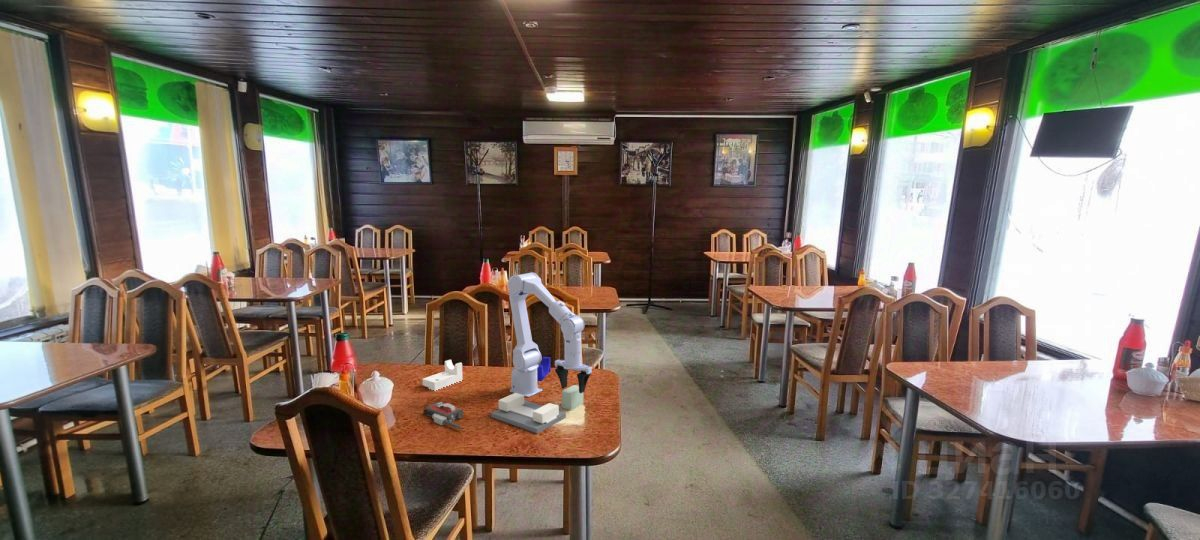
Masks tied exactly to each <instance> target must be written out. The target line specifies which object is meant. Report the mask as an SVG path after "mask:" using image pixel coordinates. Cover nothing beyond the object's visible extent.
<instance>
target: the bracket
mask: <svg viewBox="0 0 1200 540" xmlns="http://www.w3.org/2000/svg"><path fill="white" fill-rule="evenodd" d="M462 380H463V363H462V362H457V363H455V364H453V362H452V359H447V360H445V361H444V371H441V372H439V373H436V374H432V375H429V376H427V377H424V378H422V386H424V387H427V388H428V389H429V390H430V389H431V390H430V391H433V390H434V391H433V392H437V391H439V390H438V389H440V390H442V389H444V388H443V387H445V388H447V387H446V386H448V387H450V386H452V385H451V384H453V385H455V384H454V383H456V382H458V383H460V382H459V381H461V382H463V381H462ZM456 384H457V383H456ZM449 385H450V386H449ZM441 388H442V389H441ZM436 390H437V391H436Z"/></svg>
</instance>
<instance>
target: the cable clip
mask: <svg viewBox="0 0 1200 540" xmlns="http://www.w3.org/2000/svg"><path fill="white" fill-rule="evenodd" d="M550 372H551V357H549V356H543V357H542V359H541V363H539V364H538V367H537V382H538V381H539V382H543V380H544V379H545V378H546V377H547V376H548V375H549V373H550ZM546 375H547V376H546ZM545 376H546V377H545Z"/></svg>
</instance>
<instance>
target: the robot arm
mask: <svg viewBox="0 0 1200 540" xmlns="http://www.w3.org/2000/svg"><path fill="white" fill-rule="evenodd" d="M507 285H508V290H509V291H508V292H509V303H510V308H511V309H510V310H511V314H512V320H513V321H512V322H513V325H514V332H515V333H514V334H515V338H516V345H515V347H514V349H513V350H512V354H513V355H512V363H513V367H514V368H513V369H512V371H511V373H510V382H511V383H510V384H511V385H510V388H511V389H510V390H509V392H510V393H512V394H514V393H518V394H522V395H524V397H526V398H530V397H532V396H534V395H536V394H538V393H541V392H543V389H542V388H540V387H538V381H537V367H538V365H539V364H541V363H542V358H543V357H542V353H541V352H540V350H539V346H538V344H537V343H535V342H534V341H533V338H532V333H531V331H532V330H531V326H530V321H529V314H528V310H527V309H528V308H527V302H526V299H527V297H528V296H529V295H531V294H532V295H534V296H536V298H538V299H539V300H540V301H541V302H542V303H543V304H544V305H545V306H546V307H548V313H549V315H550V316H551V317H552V318H553V319H554V320H555V321H556V322H558V324H559V325H560V330H561V332H562V334H563V335H562V336H563V339H564V359H557V360H554V367H555V369H554V371H555V373H556V375H557V377H558V379H559V383H560V386H561V389H566V388H568V374H569V370H572V371H577V372H579V373H577V374H576V377H577V382H578V386H579V393H583V392H584V393H585V392H586V390H585V389H586V387H587V384H588V380H589V379H590V377H591V375H592V373H593V367H592V366H589V365H586V364H584V363H582V331H584V329H585V325H586V324H585V323H586V322H585V321H584V319H583V317H582V316H581V315H579V314H575V313H574V312H572V311H571V310H570V308H568V306H566V303H565V302H564V301H561V300H556V299H555V298H554V296H553V295H552V294H551V292H550V291H549V290H548V289H547V288H546V286H545V285H544V284H543V283H542V279H541V277H540V276H539V275H538V274H537V273H535V272H533V271H531V272H527V273H522V274H514V275H512V276H511V277H510V279H509V280H508V282H507Z"/></svg>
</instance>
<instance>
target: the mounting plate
mask: <svg viewBox="0 0 1200 540" xmlns="http://www.w3.org/2000/svg"><path fill="white" fill-rule="evenodd" d="M490 418H492V419H494V420H495V419H496V420H497V421H501V422H503V423H506V424H509V425H513V426H515V427H517V428H521V429H523V430H526V431H529V432H532V433H535V434H539V433H541V432H543V431H544V430H547V429H548V428H550V427H552V426H553V425H555V424H557V423H558V422H560V421H562V420H564V419H566V418H567V413H566V412H564V411H561V410H560V406H559V405H557V404H554V403H550V402H548V403H546V404H544V405H542V404H538V403H535V402H533V401H532V402H531V401H528V400H525V396H524V395H522V394H518V393H512V394H509V395H507V396H505V397H503V398H500V399H498V409H496V410H494V411H492V412H490Z"/></svg>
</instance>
